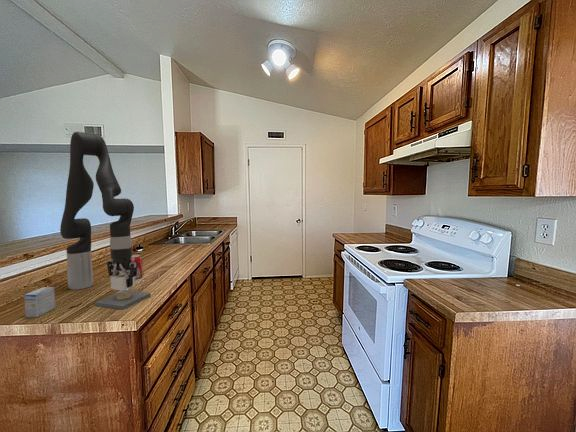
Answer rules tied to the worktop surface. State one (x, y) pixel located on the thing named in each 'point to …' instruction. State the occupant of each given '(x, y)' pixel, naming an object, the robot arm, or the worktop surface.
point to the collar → (120, 282)
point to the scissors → (135, 283)
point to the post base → (122, 299)
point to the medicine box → (39, 301)
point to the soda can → (139, 269)
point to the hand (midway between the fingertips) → (123, 286)
